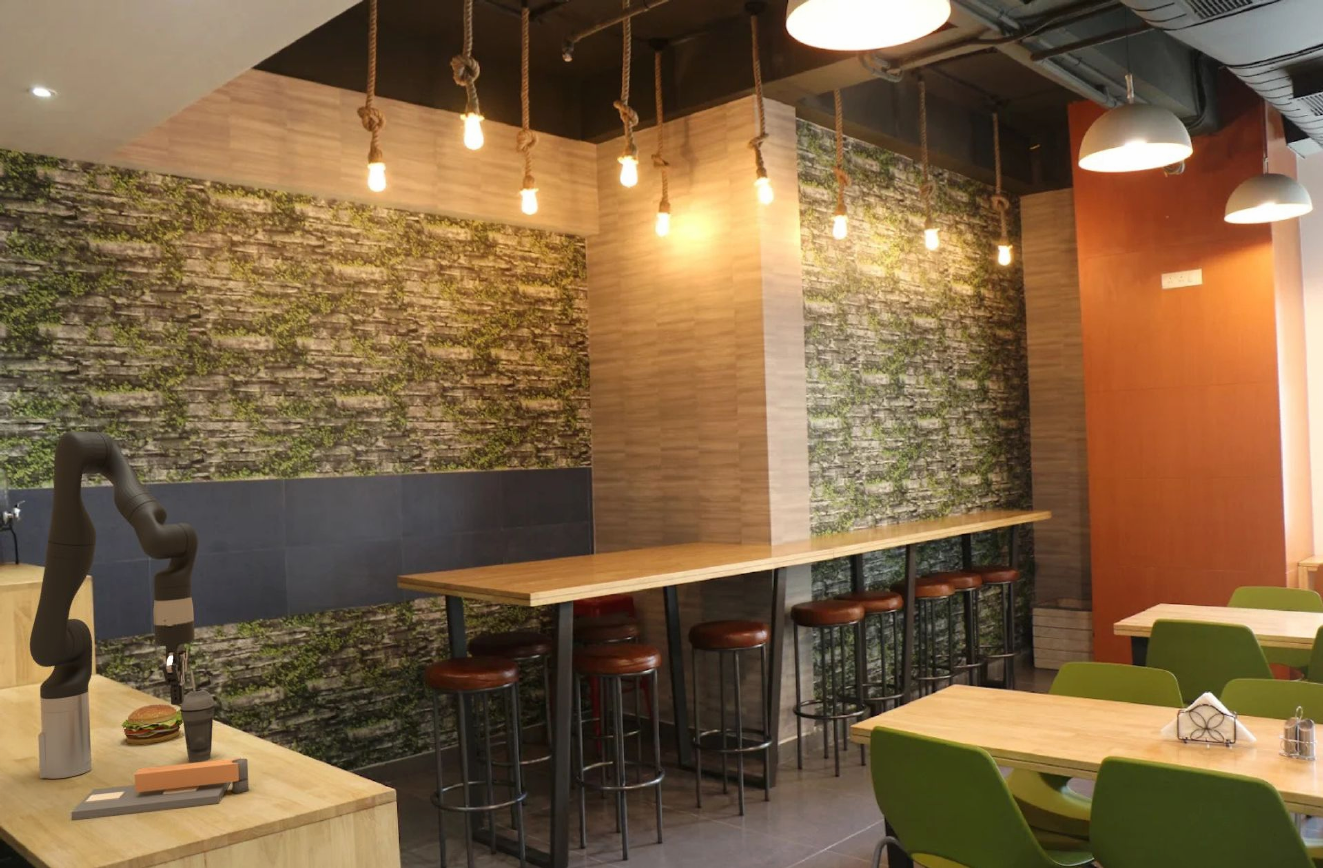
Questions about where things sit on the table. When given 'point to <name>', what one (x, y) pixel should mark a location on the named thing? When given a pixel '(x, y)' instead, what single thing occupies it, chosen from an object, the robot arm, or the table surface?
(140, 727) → the food
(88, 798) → the label board
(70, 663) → the robot arm
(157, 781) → the swing bar
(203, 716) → the beverage cup
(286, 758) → the table surface
